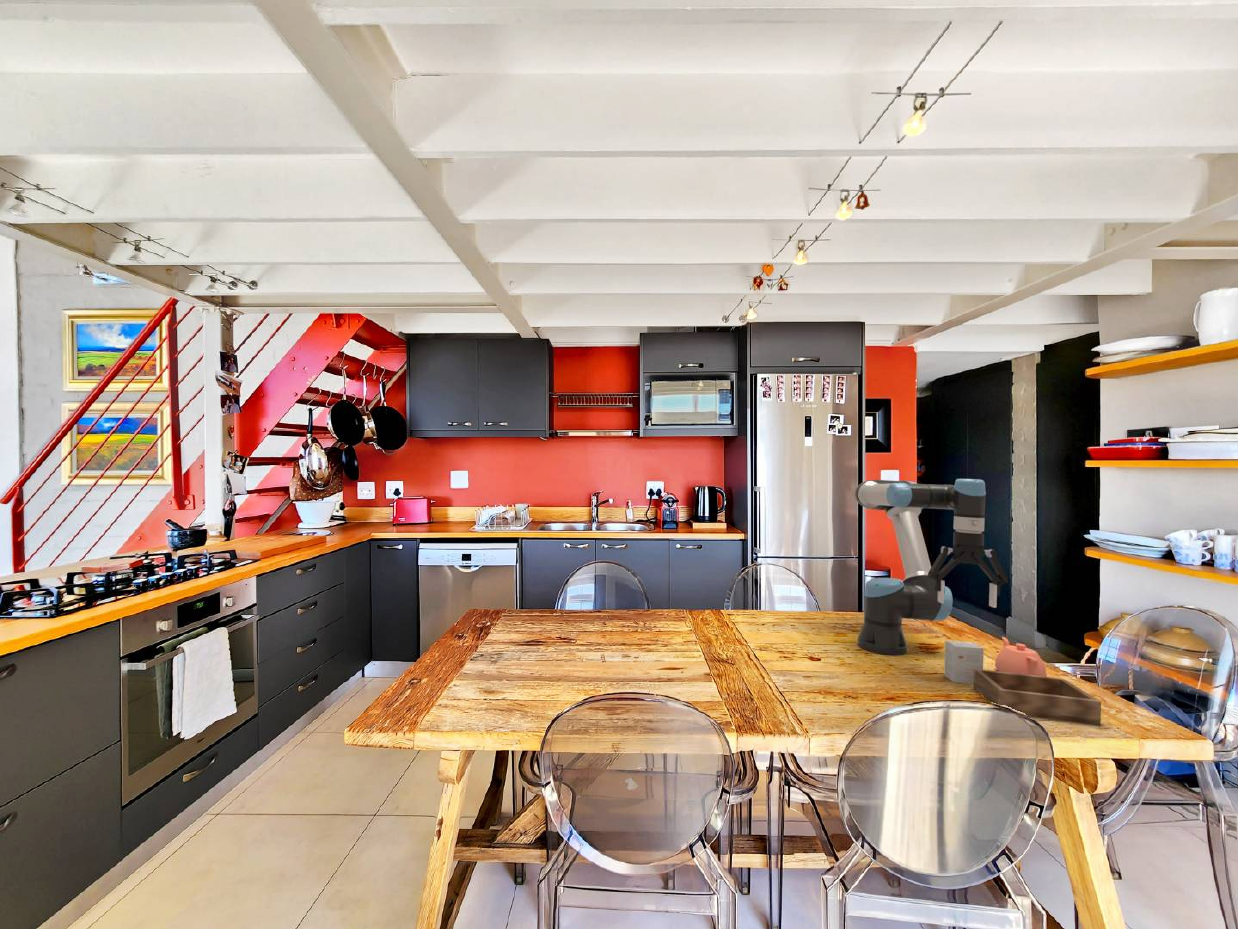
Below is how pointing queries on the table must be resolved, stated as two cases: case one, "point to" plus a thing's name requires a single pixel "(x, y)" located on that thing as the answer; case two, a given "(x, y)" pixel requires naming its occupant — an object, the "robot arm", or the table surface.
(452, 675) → the table surface
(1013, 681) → the crate
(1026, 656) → the teapot
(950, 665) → the small box
